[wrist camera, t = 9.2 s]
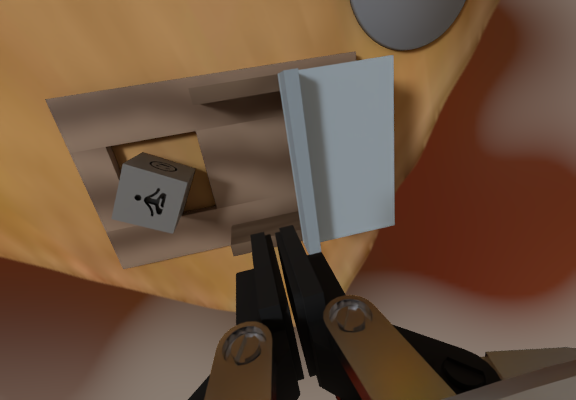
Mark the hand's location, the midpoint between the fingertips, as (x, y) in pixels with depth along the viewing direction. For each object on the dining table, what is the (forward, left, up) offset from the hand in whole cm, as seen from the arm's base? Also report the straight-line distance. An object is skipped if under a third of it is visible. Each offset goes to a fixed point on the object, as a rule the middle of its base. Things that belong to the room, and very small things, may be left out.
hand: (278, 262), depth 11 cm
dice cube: (+1, -9, -19) cm, 21 cm away
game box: (0, -2, -19) cm, 19 cm away
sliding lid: (0, +8, -13) cm, 15 cm away
